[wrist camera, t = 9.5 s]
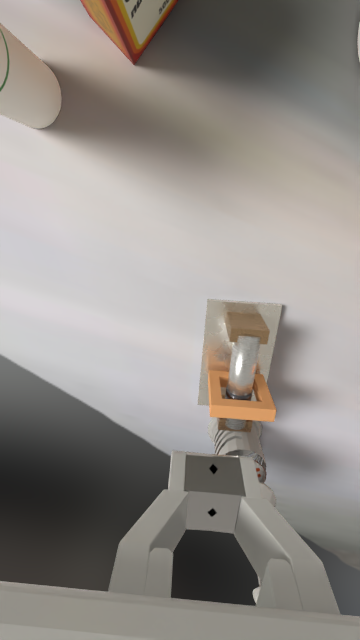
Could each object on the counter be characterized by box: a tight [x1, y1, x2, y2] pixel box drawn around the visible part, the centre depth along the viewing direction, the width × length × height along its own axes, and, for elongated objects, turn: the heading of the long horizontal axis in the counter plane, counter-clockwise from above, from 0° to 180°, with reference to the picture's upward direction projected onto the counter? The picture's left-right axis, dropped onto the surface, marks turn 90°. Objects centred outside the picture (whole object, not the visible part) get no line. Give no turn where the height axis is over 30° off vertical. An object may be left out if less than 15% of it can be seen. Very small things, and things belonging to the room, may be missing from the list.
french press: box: [208, 417, 276, 603], centre depth 42 cm, size 10×12×25 cm
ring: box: [208, 370, 276, 422], centre depth 43 cm, size 9×2×9 cm, turn 87°
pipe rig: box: [198, 299, 282, 432], centre depth 44 cm, size 11×19×8 cm, turn 177°
